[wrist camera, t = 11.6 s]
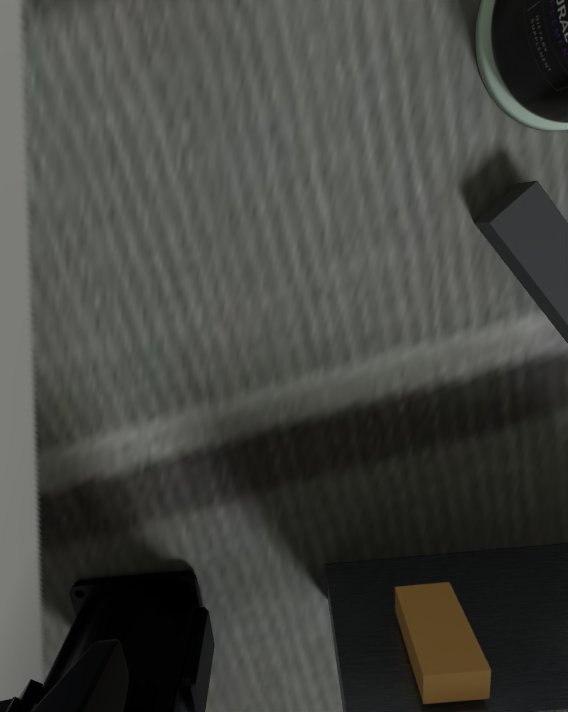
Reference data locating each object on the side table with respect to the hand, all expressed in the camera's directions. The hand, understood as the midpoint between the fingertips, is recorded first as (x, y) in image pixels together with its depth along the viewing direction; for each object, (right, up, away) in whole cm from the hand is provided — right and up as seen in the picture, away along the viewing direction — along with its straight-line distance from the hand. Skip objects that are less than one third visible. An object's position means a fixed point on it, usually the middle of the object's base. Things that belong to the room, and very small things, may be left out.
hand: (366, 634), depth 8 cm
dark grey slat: (+12, +7, +12) cm, 18 cm away
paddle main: (+5, -6, +12) cm, 14 cm away
